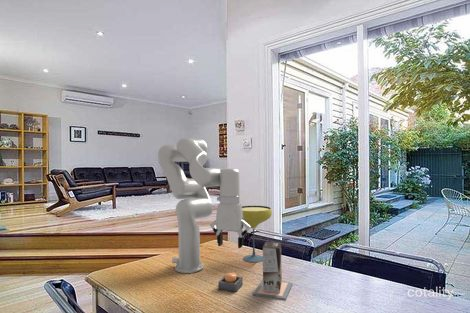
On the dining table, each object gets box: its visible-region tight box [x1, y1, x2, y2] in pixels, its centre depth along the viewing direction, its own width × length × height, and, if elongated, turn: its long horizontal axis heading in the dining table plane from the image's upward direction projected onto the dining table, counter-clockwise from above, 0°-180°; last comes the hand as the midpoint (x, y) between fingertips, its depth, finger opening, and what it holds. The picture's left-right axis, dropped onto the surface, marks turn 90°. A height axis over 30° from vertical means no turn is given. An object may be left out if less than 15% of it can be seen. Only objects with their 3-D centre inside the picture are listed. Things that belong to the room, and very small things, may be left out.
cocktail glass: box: [241, 205, 273, 263], centre depth 148 cm, size 18×18×25 cm
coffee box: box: [262, 241, 283, 293], centre depth 113 cm, size 9×6×16 cm
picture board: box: [252, 278, 293, 301], centre depth 112 cm, size 12×14×1 cm
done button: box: [224, 272, 237, 283], centre depth 115 cm, size 4×4×3 cm
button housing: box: [217, 275, 243, 293], centre depth 115 cm, size 7×7×3 cm
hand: (230, 246), depth 115 cm, fingers open, 7 cm apart
